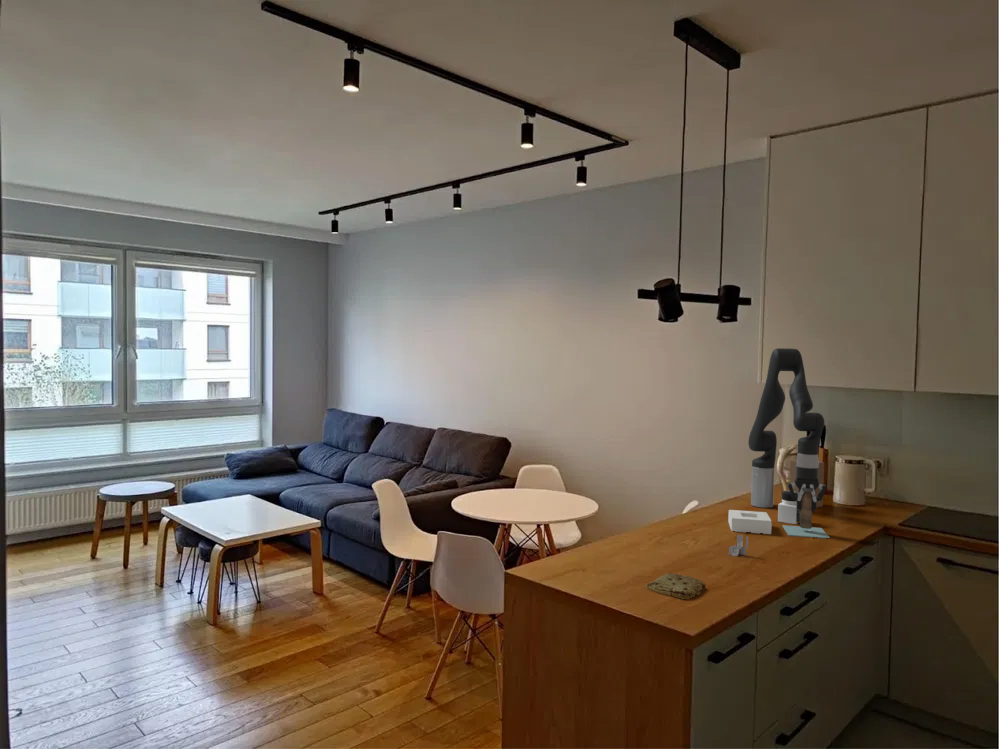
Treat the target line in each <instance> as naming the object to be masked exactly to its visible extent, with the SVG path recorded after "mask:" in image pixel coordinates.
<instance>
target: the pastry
mask: <svg viewBox="0 0 999 749" xmlns="http://www.w3.org/2000/svg"><path fill="white" fill-rule="evenodd" d="M706 586H707V584H706V583H705V581H702V580H700V579H698V578H695V577H693V576H690V575H687V574H686V575H682V574H678V573H673V572H671V573H670V572H669V573H665V574H663V575H661V576H659V577H658V578H656V579H654V580H651V581H650V582H647V583H646V584H645V587H646V588H647V589H649V590H648V591H650V590H651V592H653V591H654V593H656V592H658V593H657V594H659V593H662V594H661V595H663V594H666V595H665V596H668V595H670V596H669V597H672V596H674V597H673V598H675V597H678V598H677V599H679V598H681V599H680V600H683V599H688V600H690V599H689V598H691V599H693V598H695V597H696V596H695V595H697V596H699V595H700V594H702V592H703V591H704V590H706ZM645 587H644V588H645ZM646 588H645V589H646ZM647 589H646V590H647ZM702 590H703V591H702ZM692 597H693V598H692Z"/></svg>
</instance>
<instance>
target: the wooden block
mask: <svg viewBox="0 0 999 749" xmlns="http://www.w3.org/2000/svg"><path fill="white" fill-rule="evenodd" d="M789 462H790V463H789V464H790V467H789V483H792V482H795V480H796V464H797V459H791V460H790V461H789ZM824 477H825V462H824V461H821V460H819V466H818V482H819V484H822V485H825V484H824V482H825V481H824V480H825V479H824ZM798 490H799V489H798V487H797V486H796V485H794V488H793V491H794V492H796V493H798ZM819 492H820V489H819V486H818V487H817V488H816V490H815V495H816V497H817V496H818V494H819ZM823 506H824V497H823V498H822V500H821V501H817V502H816V509H818V508H823Z"/></svg>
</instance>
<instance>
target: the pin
mask: <svg viewBox="0 0 999 749" xmlns="http://www.w3.org/2000/svg"><path fill="white" fill-rule="evenodd" d="M802 491H804V493H803V495H802V498H801V511H800V522H799V526H800V527H801V528H806V529H810V528H811V527H813V526H812V524H813V523H812V521H813V519H812V518H813V512H812V493H811V492H813V488H802Z"/></svg>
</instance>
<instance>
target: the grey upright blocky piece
mask: <svg viewBox="0 0 999 749" xmlns="http://www.w3.org/2000/svg"><path fill="white" fill-rule="evenodd" d="M743 537H744V535H739V534H737V535H736V544H735V545H733V546H732V545H731V546H728V548H729V549H728V556H732V557H738V556H739V555H741V556H745V557H746V556H747V548H749V537H748V536H745V537H746V538H745V546H743V544H744V542H743V540H744V538H743Z"/></svg>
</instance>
